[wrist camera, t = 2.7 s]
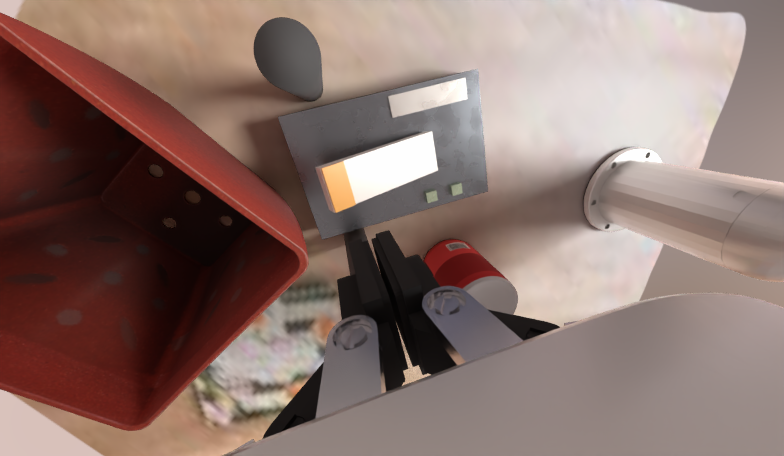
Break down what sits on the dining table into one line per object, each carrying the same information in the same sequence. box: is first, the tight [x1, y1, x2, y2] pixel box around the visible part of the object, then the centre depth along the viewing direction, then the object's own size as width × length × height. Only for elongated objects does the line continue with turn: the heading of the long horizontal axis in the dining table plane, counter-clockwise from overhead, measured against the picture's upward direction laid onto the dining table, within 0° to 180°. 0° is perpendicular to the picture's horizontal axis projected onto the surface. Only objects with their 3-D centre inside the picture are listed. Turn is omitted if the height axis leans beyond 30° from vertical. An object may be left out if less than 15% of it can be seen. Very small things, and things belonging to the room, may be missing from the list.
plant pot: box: [0, 13, 308, 431], centre depth 24 cm, size 19×19×17 cm
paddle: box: [315, 131, 438, 213], centre depth 27 cm, size 12×4×1 cm, turn 102°
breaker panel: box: [278, 69, 488, 239], centre depth 31 cm, size 20×13×6 cm, turn 102°
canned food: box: [424, 239, 518, 315], centre depth 37 cm, size 8×8×11 cm
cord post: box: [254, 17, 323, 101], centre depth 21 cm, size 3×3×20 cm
